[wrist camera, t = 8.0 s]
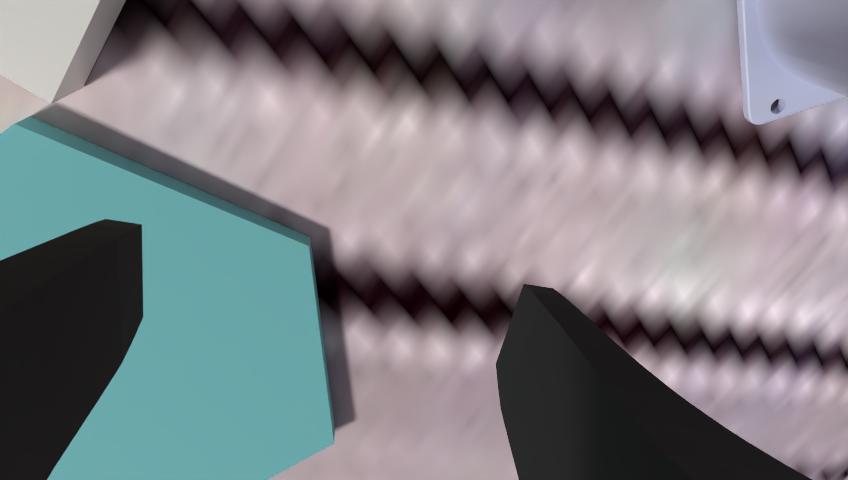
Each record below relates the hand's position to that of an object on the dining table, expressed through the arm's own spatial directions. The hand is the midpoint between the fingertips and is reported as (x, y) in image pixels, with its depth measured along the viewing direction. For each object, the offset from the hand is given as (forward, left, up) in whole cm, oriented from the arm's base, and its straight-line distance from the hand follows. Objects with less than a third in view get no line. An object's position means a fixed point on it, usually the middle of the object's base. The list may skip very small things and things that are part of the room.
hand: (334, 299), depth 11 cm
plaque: (+13, +5, -11) cm, 18 cm away
